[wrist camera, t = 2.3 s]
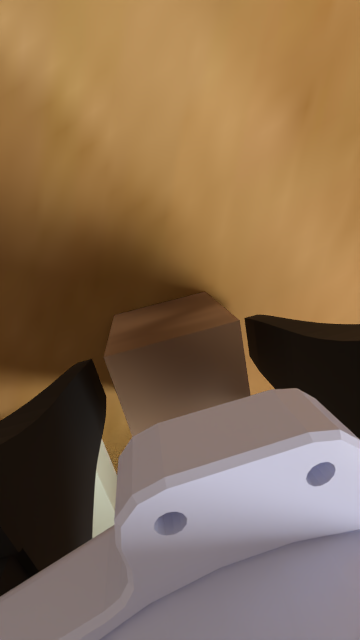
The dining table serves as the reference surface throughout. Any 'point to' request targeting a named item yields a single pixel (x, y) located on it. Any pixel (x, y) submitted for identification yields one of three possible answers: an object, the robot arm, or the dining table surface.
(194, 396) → the walnut cube
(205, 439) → the robot arm
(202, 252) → the dining table surface
